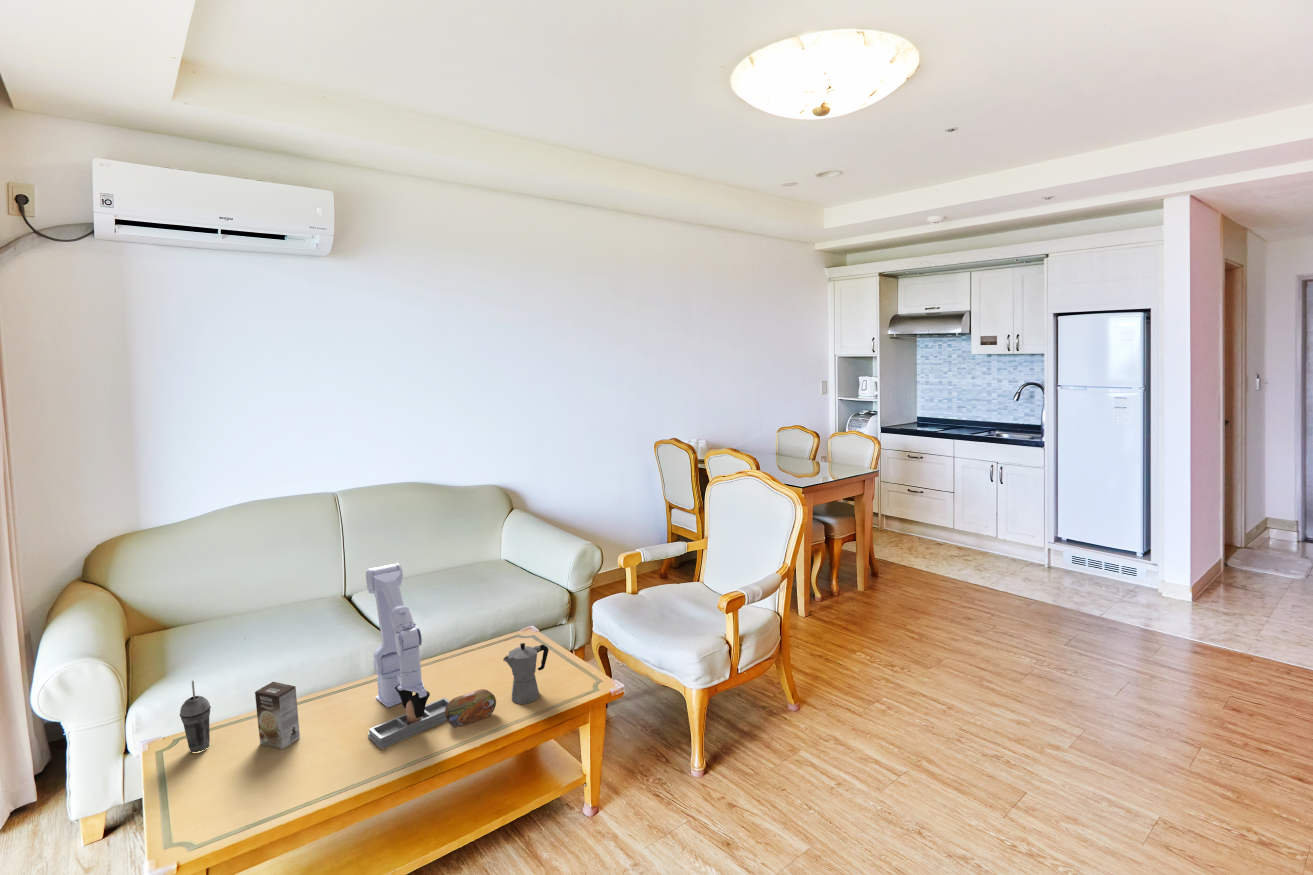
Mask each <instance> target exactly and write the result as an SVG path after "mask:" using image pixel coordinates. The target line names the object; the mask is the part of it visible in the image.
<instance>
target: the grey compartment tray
mask: <svg viewBox="0 0 1313 875" xmlns="http://www.w3.org/2000/svg"><path fill="white" fill-rule="evenodd" d="M450 701H451V700H449V699H447V698H446V697H442V698H440V699H437V700H435V701H432V702H430V703H428V704H426V705H425V710H424V715H423V716H421V720H419V721H417V722H414V723H412V724H410V725H408V724H407V714H406V713H403V714H401V715H400V716H399V715H398V716H396V717H394V718H392V719H389V720H387V721H384V722H382V723H379V724H377V725H375V726H372V727H370V728H368V731H369V732H368V733H367V738H368V739H370V741H371V742H373V744H375V745H376V746H377V747H378V748H380V749H381V750H384V749H386V748H388V747H390V746H392V745H394V744H396V743H397V744H398V743H399V742H401V741H403V740H406V739H408V738H410V737H412V736H414V735H418V734H419V733H422V732H424V731H425V730H426V731H427V730H428V729H431V728H432V727H435V726H437V725H440V724H442V723H444V722H446V721H447V719H446V717H445V709H446V706H447V705H448V703H449V702H450ZM447 722H448V721H447Z"/></svg>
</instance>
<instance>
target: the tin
mask: <svg viewBox="0 0 1313 875" xmlns="http://www.w3.org/2000/svg"><path fill="white" fill-rule="evenodd" d="M496 698H497V697H495V695H494V694H493V693H492V692H491V691H490V690H488V689H484V688H483V689H478V690H475V691H472V692H469V693H468V692H467V693H465V694H462V695H458V696H456V697H454V698H452V699H451V700H449V701H450V702H449V703H448V705H447V706H446V709H445V717H446V719H447V723H448V724H449V725H450V726H451V727H455V728H459V727H463V726H464V727H465V726H466V725H469V724H472V723H475V722H478V721H481V720H484V719H486V718H488V717H490V716H491V714H493V713H494V711H495V708H496V705H497V699H496Z"/></svg>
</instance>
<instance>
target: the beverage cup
mask: <svg viewBox="0 0 1313 875" xmlns="http://www.w3.org/2000/svg"><path fill="white" fill-rule="evenodd" d="M191 690H192V696H191V697H189V698H187V699H186V700H185V701H184V702H183V704H181V707H180V711H179V717H180V719H181V722H182V724H183V728H184V733H185V736H186V741H187V746H188V748H189V751H191V752H198V751H202V750H205V749H206V748H208V747H209V748H210V742H211V741H210V736H211V735H210V715H211V708H212V707H211V705H210V702H209V699H207V698H206V697H204V696H201V695H196V690H195V681H194V680H191ZM209 748H208V749H209Z"/></svg>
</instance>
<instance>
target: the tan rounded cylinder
mask: <svg viewBox="0 0 1313 875" xmlns="http://www.w3.org/2000/svg"><path fill="white" fill-rule="evenodd" d="M405 710H406V711H405V712H406V713H405V714H407V724H408V725H410V724H412V723H414V722H417V721H419V720H421V717H419V718H416V716H415V713H414V708H413V705H412V703H411V701H408V703H407V704H406V709H405Z"/></svg>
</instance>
